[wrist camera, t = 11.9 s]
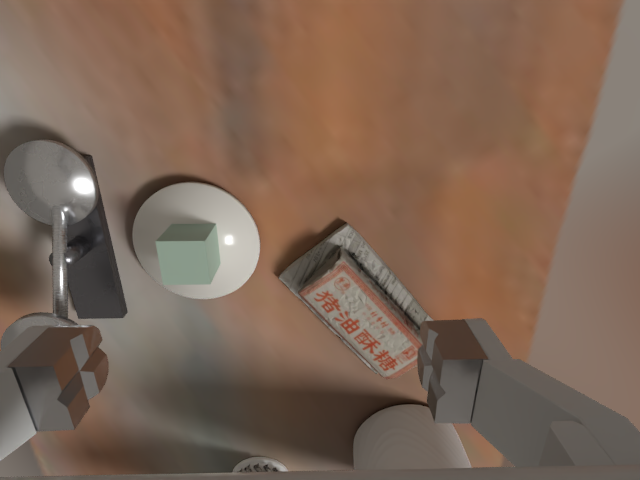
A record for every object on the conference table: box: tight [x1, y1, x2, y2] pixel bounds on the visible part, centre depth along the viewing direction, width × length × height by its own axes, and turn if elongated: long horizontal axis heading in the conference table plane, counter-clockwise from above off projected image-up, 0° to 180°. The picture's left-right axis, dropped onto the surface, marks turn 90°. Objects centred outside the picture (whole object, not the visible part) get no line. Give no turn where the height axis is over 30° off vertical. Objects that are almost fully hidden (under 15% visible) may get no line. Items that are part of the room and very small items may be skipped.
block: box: [155, 224, 221, 285], centre depth 39 cm, size 4×4×4 cm
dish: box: [132, 182, 260, 299], centre depth 42 cm, size 13×13×2 cm
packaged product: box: [279, 223, 434, 379], centre depth 44 cm, size 18×5×10 cm
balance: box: [1, 139, 127, 350], centre depth 38 cm, size 22×8×10 cm, turn 0°
